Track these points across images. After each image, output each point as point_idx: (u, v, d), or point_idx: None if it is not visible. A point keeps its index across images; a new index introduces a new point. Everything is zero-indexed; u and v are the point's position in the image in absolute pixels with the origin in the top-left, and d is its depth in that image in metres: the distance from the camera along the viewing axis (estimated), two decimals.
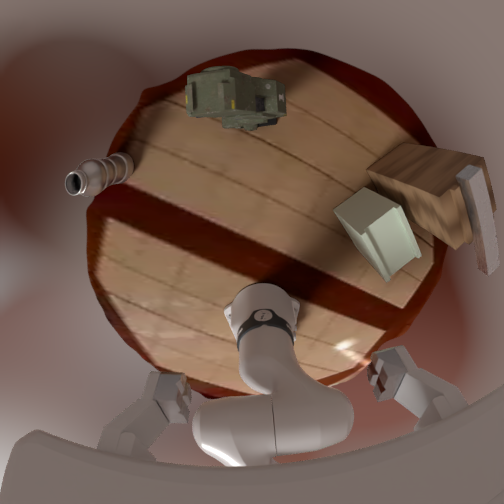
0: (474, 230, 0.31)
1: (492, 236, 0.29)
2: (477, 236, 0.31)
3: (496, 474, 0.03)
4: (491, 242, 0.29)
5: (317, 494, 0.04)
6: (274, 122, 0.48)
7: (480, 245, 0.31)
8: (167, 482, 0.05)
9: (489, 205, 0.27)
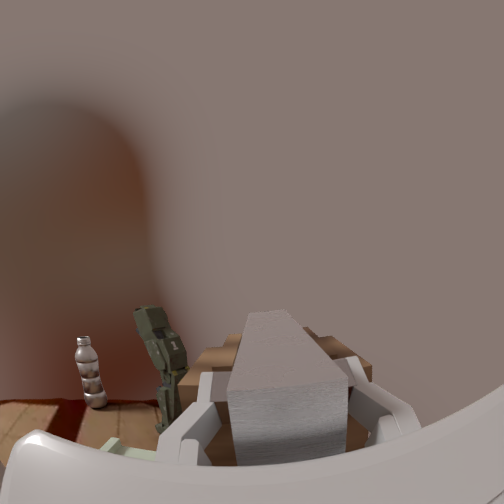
0: None
1: (286, 334, 0.14)
2: None
3: (496, 474, 0.03)
4: (279, 338, 0.13)
5: (317, 494, 0.04)
6: None
7: None
8: (167, 483, 0.05)
9: (288, 318, 0.20)
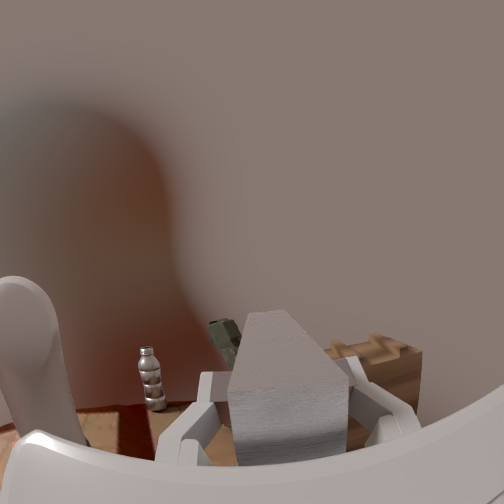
0: None
1: (286, 334, 0.14)
2: None
3: (496, 474, 0.03)
4: (279, 338, 0.13)
5: (317, 494, 0.04)
6: None
7: None
8: (167, 483, 0.05)
9: (287, 318, 0.20)
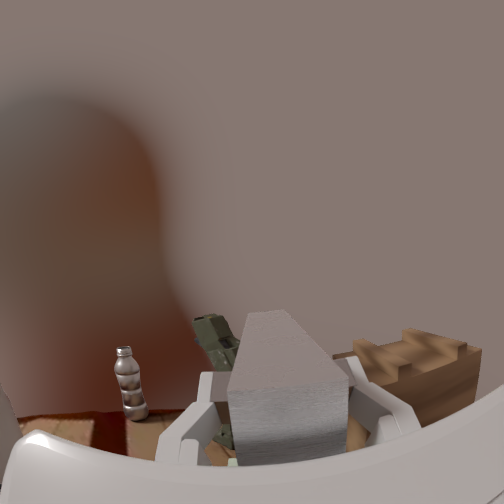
0: None
1: (286, 334, 0.14)
2: None
3: (496, 474, 0.03)
4: (278, 338, 0.13)
5: (317, 494, 0.04)
6: None
7: None
8: (167, 482, 0.05)
9: (287, 318, 0.20)
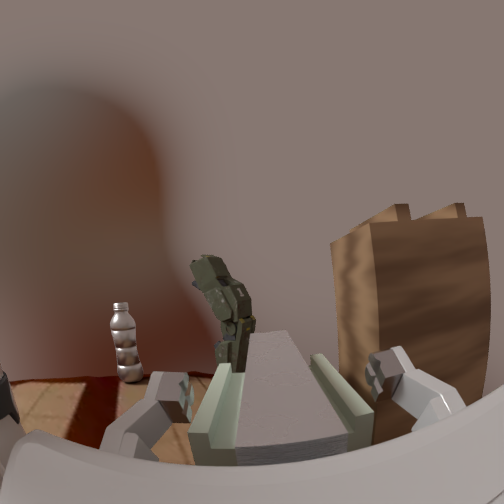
0: None
1: (289, 369, 0.14)
2: None
3: (496, 474, 0.03)
4: (281, 375, 0.13)
5: (317, 494, 0.04)
6: None
7: None
8: (167, 482, 0.05)
9: (289, 345, 0.19)
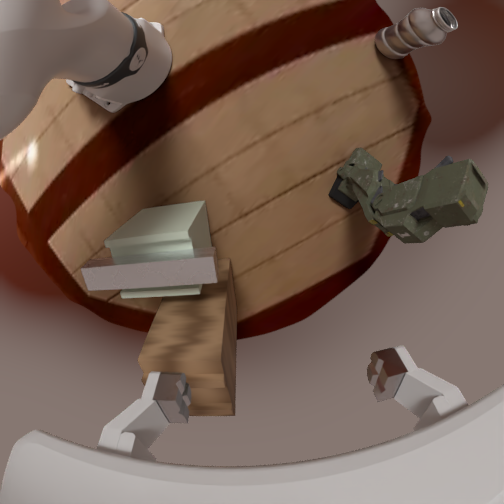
0: (143, 256, 0.33)
1: (128, 281, 0.32)
2: (135, 259, 0.33)
3: (496, 474, 0.03)
4: (122, 278, 0.32)
5: (317, 494, 0.04)
6: (333, 195, 0.46)
7: (122, 261, 0.32)
8: (167, 482, 0.05)
9: (169, 283, 0.33)
